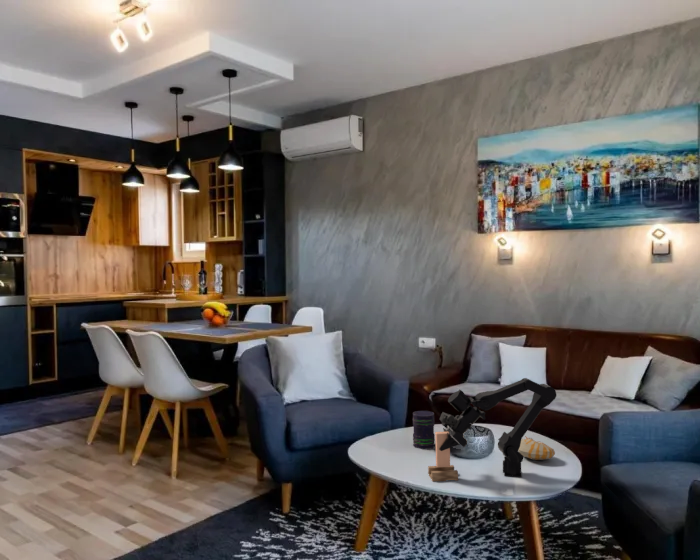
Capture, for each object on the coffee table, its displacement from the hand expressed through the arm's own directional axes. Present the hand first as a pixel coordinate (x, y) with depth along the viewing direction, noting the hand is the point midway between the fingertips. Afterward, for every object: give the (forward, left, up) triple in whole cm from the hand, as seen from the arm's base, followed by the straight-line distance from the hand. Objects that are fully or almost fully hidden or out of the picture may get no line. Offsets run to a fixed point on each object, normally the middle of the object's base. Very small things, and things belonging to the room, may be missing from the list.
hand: (439, 449), depth 221 cm
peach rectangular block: (-1, -1, -7) cm, 7 cm away
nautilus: (-38, -32, -11) cm, 51 cm away
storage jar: (+10, -38, -11) cm, 41 cm away
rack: (-1, 0, -11) cm, 11 cm away
